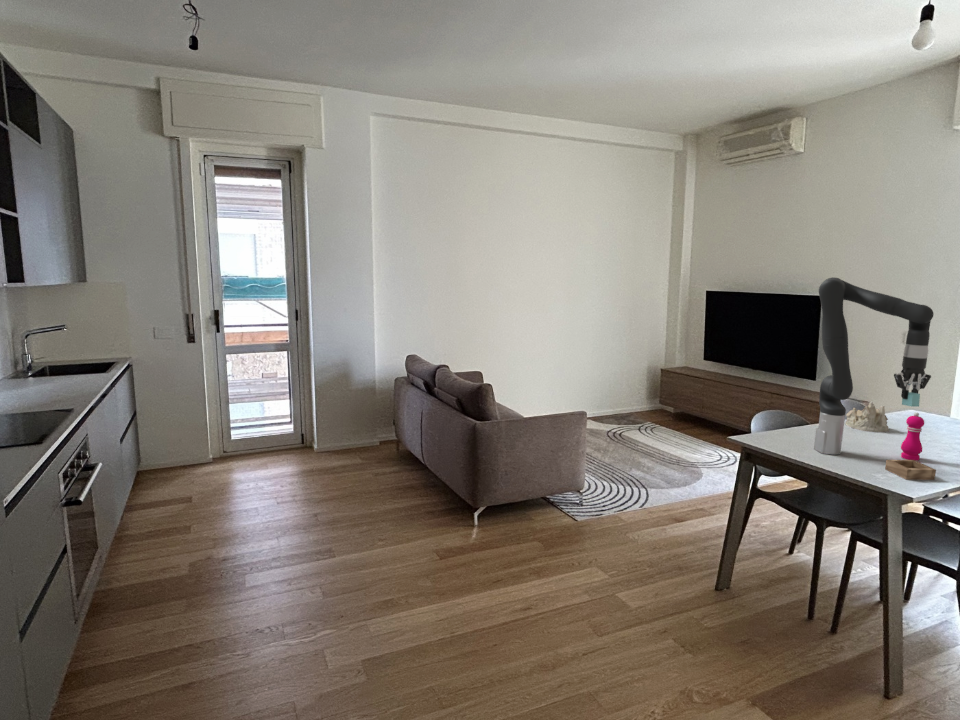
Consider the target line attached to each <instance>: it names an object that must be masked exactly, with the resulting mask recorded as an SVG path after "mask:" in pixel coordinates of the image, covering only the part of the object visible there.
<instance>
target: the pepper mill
mask: <svg viewBox="0 0 960 720" xmlns="http://www.w3.org/2000/svg"><path fill="white" fill-rule="evenodd" d="M905 422H906V425H907V426H906V430H907V433H906V437H905V438H904V440H903V441H902V443H901V446H900V450H902V452H901V453H900V457H901V458H902V459H903V460H915V461H917V462H919V461H920V458H921V457H920V454H921V453H922V452H923V445H922V442H921V438H920V436H921V433H922V430H923V428H922V427H924V425H925V419H924V418H923V417H921V416H920V414H919V412H917V411H916V412H914V413H913V415H909V416H908V417H907V418H906V421H905Z"/></svg>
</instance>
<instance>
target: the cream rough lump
mask: <svg viewBox="0 0 960 720" xmlns="http://www.w3.org/2000/svg"><path fill="white" fill-rule="evenodd" d="M885 410H886V409H885V406H884V405H880V406H879V408H876V407H875V404H874V402H873V401H870V402H869V403H868V405H867V406H864V407H863V409H862V410H860V409H857V408H856V407H853V408H852V409H850V410H849V411H848V412H847V413H845V417H846V421H845V422H844V426H845V425H846V426H847V427H849V428H851V429H854V430H855V429H856V430H857V431H862V432H869V433H887V432H889V431H890V429H889V426H888V420H889V418H888V416H887V415H886V411H885Z"/></svg>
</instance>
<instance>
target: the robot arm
mask: <svg viewBox="0 0 960 720" xmlns="http://www.w3.org/2000/svg"><path fill="white" fill-rule="evenodd" d="M818 295H819V299H820V305H821V312H822V313H821V315H822V317H821V318H822V319H821V320H822V321H821V341H822V342H821V343H822V349H823V352H824V355H825V356H826V359H827V360H828V363H829V365H830V367H831V375H827V376H825V377H824V378H823V379H822V381H821V383H820V387H819V400H818V402H819V403H818V404H819V407H820V408H819V409H820V412H819V419H818V420H819V421H818V427H815V434H814V435H815V436H814V443H813V450H814V451H816V452H819V453H821V454H825V455H826V454H827V455H833V456H834V455H840V454H841V453H842V445H843V444H842V443H843V436H844V430H845V429H844V428H845V422H846V421H845V420H846V414H847V413H846V411H847V408H846V407H845V406H844V405H843V403H842V401H845V400H847V399H849V398H850V397H851V396H852V394H853V390H854V386H853V379H852V378H853V377H852V373H851V367H850V355H849V334H848V327H847V322H846V319H845V316H844V315H845V314H844V301H848V302H852V303H855V304H858V305H861V306H864V307H866V308H868V309H870V310H873V311H876V312H879V313H883V314H885V315H890V316H893V317H899V318H902V319H904V320H907V321H908V331H907V335H906V340H905V345H904V349H903V357H902V361H901V362H902V363H901V367H902V369H901V370H900V372H899V373H893V377H894V380H895V383H896V386H897V388H900V389H901V393H900V394H901V395H900V396H901V399H902V398H903V399H908V393H909V392H910V387H912V388H911V392H912V393H918V394H919V391H920V390H922V389H923V390H924V389H925V388H926V386H927V385H928V383H929V381H930V380H931V378H932V376H931V375H930V374H928V373H926V371H925V369H926V368H927V362H928V357H929V356H928V355H929V342H930V336H931V335H930V326H931V322H932V319H933V318H934V311H933V309H932V308H931V307H930V306H929V305H927V304H919V303H915V302H911V301H908V300H905V299H902V298H899V297H896V296H893V295H889V294H884V293H880V292H876V291H872V290H869V289H865V288H863V287H859V286H856V285H855V284H852V283H849V282H847V281H845V280H842V279H841V278H839V277H829V278H827V279H825V280H823V282H821V284H820V285H819V287H818ZM911 385H912V386H911Z"/></svg>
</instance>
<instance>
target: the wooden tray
mask: <svg viewBox="0 0 960 720" xmlns="http://www.w3.org/2000/svg"><path fill="white" fill-rule="evenodd" d="M885 471H888V472H890V473H893V474H894V475H896V476H898V477H900V478H902V479H903V480H907V481H908V480H909V481H910V480H912V481H917V480H918V481H923V480H924V481H928V480H929V481H934V480H935V479H936V473H937V469H935V468H933V467H931V466H929V465H926V464H924V463H921V462H919V461H915V460H907V459H886V461H885Z"/></svg>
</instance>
